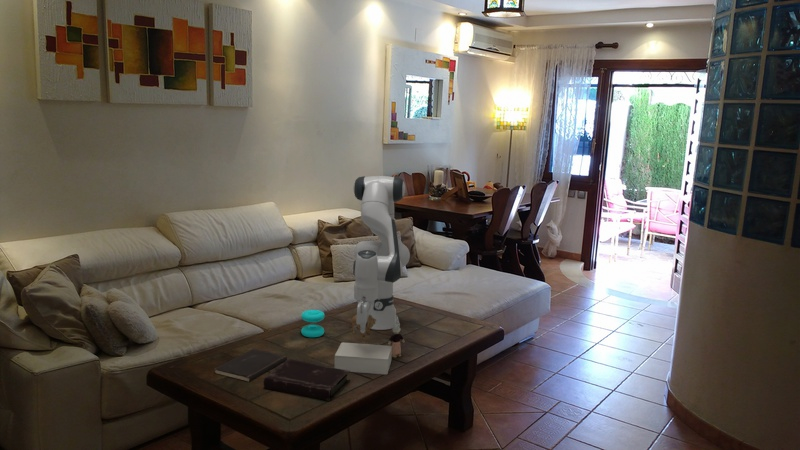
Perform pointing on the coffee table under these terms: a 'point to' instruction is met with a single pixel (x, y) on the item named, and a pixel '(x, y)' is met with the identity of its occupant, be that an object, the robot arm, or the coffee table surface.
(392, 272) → the robot arm
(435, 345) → the coffee table surface
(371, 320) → the lion figurine
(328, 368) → the diary
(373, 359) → the pedestal
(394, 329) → the grandmother figurine
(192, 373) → the coffee table surface
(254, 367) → the hardcover book
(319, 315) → the donuts
